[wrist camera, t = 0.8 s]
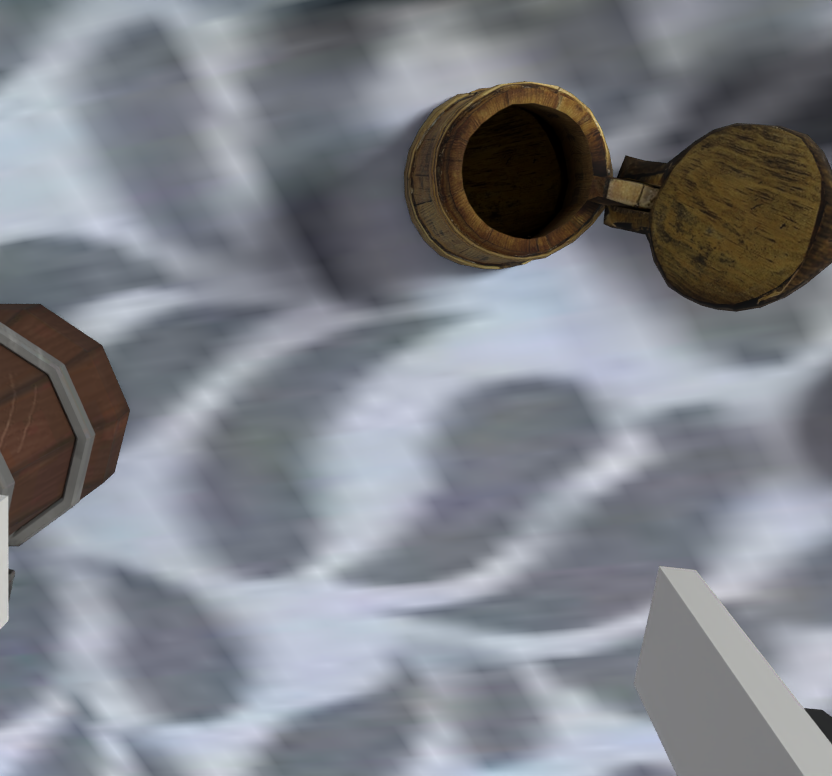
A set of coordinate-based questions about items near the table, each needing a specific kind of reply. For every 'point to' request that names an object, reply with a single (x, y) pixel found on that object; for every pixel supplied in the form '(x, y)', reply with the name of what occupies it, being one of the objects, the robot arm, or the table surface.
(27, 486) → the mug
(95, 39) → the table surface
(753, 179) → the wooden mug
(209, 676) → the table surface
